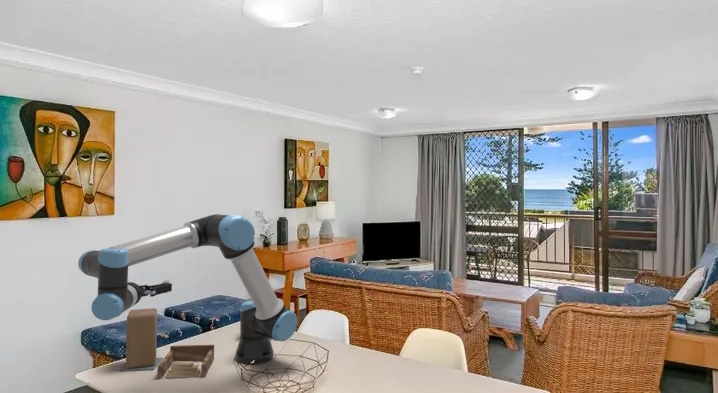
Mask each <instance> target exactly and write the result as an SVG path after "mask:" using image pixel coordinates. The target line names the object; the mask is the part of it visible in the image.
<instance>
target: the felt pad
mask: <svg viewBox="0 0 718 393" xmlns="http://www.w3.org/2000/svg"><path fill="white" fill-rule="evenodd" d="M163 359H164V357H156V362H155V365H153V366H147V367H138V368H126V363H125V364H124V365H123V366H122V367H121V368H119V372H133V371H134V372H136V371H137V372H139V371H140V372H141V371H154V370H156V369H157V368H158V365H159V364H160V363H161V361H162V360H163Z"/></svg>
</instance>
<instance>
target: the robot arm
mask: <svg viewBox="0 0 718 393" xmlns="http://www.w3.org/2000/svg"><path fill="white" fill-rule="evenodd" d="M255 235H256V231H255V228H254V225H253V223H252V222H251V221H250V220H249V219H248V218H246V217H244V216H241V215H239V214H238V215H237V214H217V213H216V214H210V215H207V216H204V217H200V218H197V219H194V220H192V221H187V222H185V223H184V224H183V226H181V227H177V228H173V229H169V230H166V231H163V232H159V233H155V234H153V235H149V236H146V237H143V238H138V239H134V240H131V241H128V242H125V243H121V244H117V245H114V246H110V247H107V248H102V249H100V250H94V249H93V250H88V251H85V252H83V253H82V255H81V256H80V257H79V259H78V262H77V263H78V264H77V265H78V266H77V267H78V268H79V270H80V271H81V272H82V273H83V274H85V275H86V276H89V277H93V278H95V279H96V278H97V296H96V298H94V299H93V301H92V303H91V307H90V308H91V313H92V314H93V316H94V317H95V318H97V319H98V320H100V321H110V320H112V319H116V318H117V317H120V316H121V315H122V314H123V313H124V312H125V311H128V310H129V309H130V308H132V307H134V306H135V305H136V304H139V302H140V301H141V299H142V298H143V297H154V296H157V295H162V294H167V293H169V292H170V293H171V292H172V289H173V287H172V286H173V283H170V279H165V280H164V281H162V282H161V283H158V284H153V285H151V284H150V285H147V284H144V285H139V284H137V283H135V282H130V281H129V280H130V279H129V278H128V277H129V267H131V266H135V265H138V264H141V263H144V262H147V261H150V260H154V259H156V258H159V257H162V256H165V255H169V254H172V253H176V252H178V251H181V250H184V249H187V248H191V249H196V248H200V247H208V246H209V247H216V248H219V250H220V252H221V255H222V256H223V257H224V259H226V260H229V261H230V262H231V263H232V265H233V268H234V270H235V271H236V273H237V275H238V277H239V278H240V281H241V282H242V284H243V286H244V288H245V290H246V291H247V294H248V296H249V299H251V300H252V301H247V302H245V301H244V302H243V303H242V304H241V306H240V321H239V322H240V324H239V327H240V329H239V331H240V332H239V333H240V335H239V336H240V337H239V342H238V345H237V347H236V350H235V354H234V357H235V358H234V360H235V361H236V362H238V363H241V364H244V365H245V364H246V365H249V364H248V363H250V362H252V361H253V360H255V361H254V364H253V365H255V364H262V363H267V362H269V361H271V360H272V359H273V358H274V348H273V345H272V342H271V340H274V341H276V342H286V341H288V340H289V339H291V338H292V336H293V335H294V333H295V332H296V330H297V326H298V317H297V314H296V313H295V312H294V311H292V310H288V308H287V305H286V304H285V302H284V300H283V299H282V298H278V297H277V295H276V293H275V291H274V289H273V287H272V285H271V283H270V280H269V279H268V277H267V275H266V273H265V271H264V269H263V267H262V264H261V263H260V261H259V259H258V256H257V255H256V253H255V251H254V247H255V244H256V242H255V237H254V236H255Z"/></svg>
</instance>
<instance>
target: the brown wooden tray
mask: <svg viewBox="0 0 718 393" xmlns="http://www.w3.org/2000/svg"><path fill="white" fill-rule="evenodd" d="M169 349H170V350H169V352H167V354H166V355H165V357H163V359H162V360H161V362H160V363H159V364H158V365H157V376H156V379H157V380H158V379H159V380H161V379H163V377H164V376H165V378H166V379H173V378H197V377H198V378H199V375H200V374H201V375H200V377H201V378H206V377H207V374H208V372H209V371H210V368H211V366H212V365H213V363H214V361H215V344H192V345H191V344H189V345H188V344H187V345H186V344H185V345H170V348H169ZM194 362H202V363H201V367H199V364H198V363H197V364H195V363H194Z"/></svg>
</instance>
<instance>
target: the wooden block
mask: <svg viewBox="0 0 718 393" xmlns="http://www.w3.org/2000/svg"><path fill="white" fill-rule="evenodd" d="M157 334H158V310H157V308H139V309H131V310H129V312H128V314H127V316H126V337H125V338H126V340H125V341H126V344H125V346H126V351H125V364H126V368H138V367H147V366H153V365H155V362H156V358H157V342H158V341H157V339H158V338H157Z"/></svg>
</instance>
